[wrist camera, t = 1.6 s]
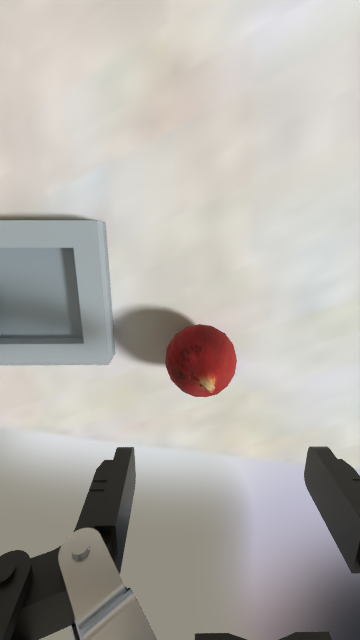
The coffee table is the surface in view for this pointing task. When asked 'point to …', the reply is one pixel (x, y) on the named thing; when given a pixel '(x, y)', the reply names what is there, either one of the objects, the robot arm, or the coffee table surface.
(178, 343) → the onion
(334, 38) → the coffee table surface
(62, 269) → the base plate
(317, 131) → the coffee table surface
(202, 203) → the coffee table surface
